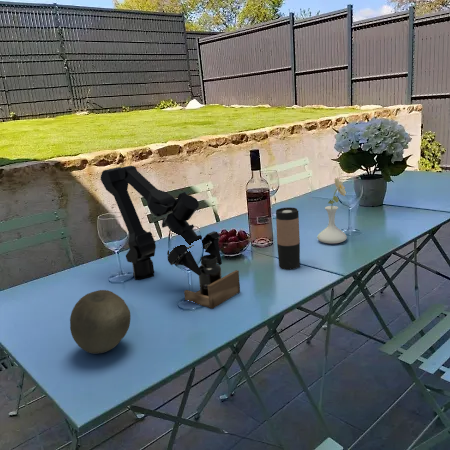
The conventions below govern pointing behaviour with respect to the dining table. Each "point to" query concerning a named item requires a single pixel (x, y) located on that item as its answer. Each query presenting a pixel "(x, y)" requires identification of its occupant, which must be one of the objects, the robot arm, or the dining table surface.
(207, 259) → the supplement bottle
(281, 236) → the travel mug
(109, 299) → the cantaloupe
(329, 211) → the flower in vase
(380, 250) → the dining table surface
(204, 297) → the holder
